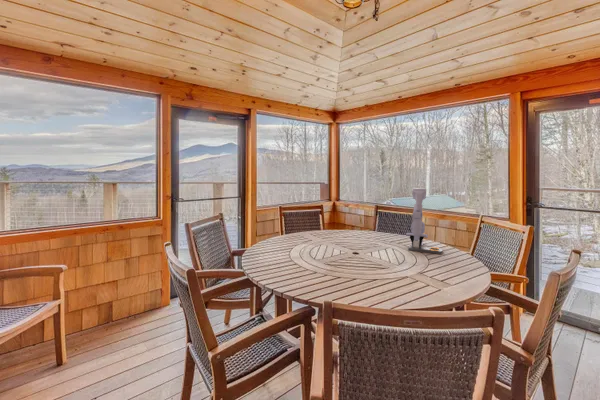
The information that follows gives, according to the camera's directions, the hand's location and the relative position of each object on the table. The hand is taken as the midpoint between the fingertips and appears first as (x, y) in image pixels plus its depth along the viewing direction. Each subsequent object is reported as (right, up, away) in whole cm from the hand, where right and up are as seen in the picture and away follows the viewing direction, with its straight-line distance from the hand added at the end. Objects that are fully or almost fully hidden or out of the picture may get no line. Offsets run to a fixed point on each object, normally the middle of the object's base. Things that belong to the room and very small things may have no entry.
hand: (416, 246), depth 220 cm
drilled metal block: (0, -3, 0) cm, 3 cm away
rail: (+5, -3, -3) cm, 7 cm away
